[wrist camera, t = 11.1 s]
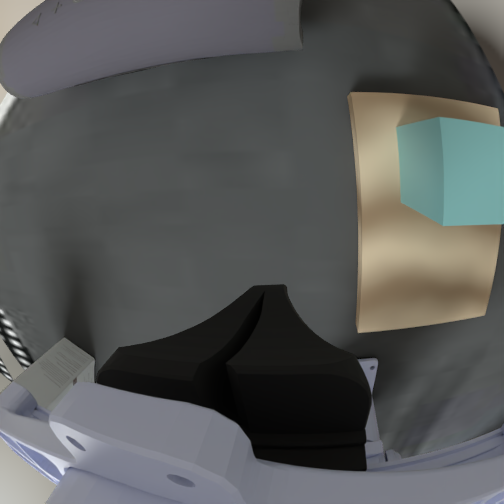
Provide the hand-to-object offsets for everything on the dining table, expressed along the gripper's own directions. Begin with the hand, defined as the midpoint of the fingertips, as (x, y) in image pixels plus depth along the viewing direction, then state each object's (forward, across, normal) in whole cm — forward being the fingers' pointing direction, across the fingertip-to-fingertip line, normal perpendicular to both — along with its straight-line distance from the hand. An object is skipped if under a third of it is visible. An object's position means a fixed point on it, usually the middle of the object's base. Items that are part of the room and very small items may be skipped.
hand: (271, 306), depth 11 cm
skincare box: (+11, +29, +16) cm, 35 cm away
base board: (+10, -12, -1) cm, 16 cm away
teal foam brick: (+9, -11, -5) cm, 15 cm away
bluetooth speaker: (+11, +8, -18) cm, 22 cm away
